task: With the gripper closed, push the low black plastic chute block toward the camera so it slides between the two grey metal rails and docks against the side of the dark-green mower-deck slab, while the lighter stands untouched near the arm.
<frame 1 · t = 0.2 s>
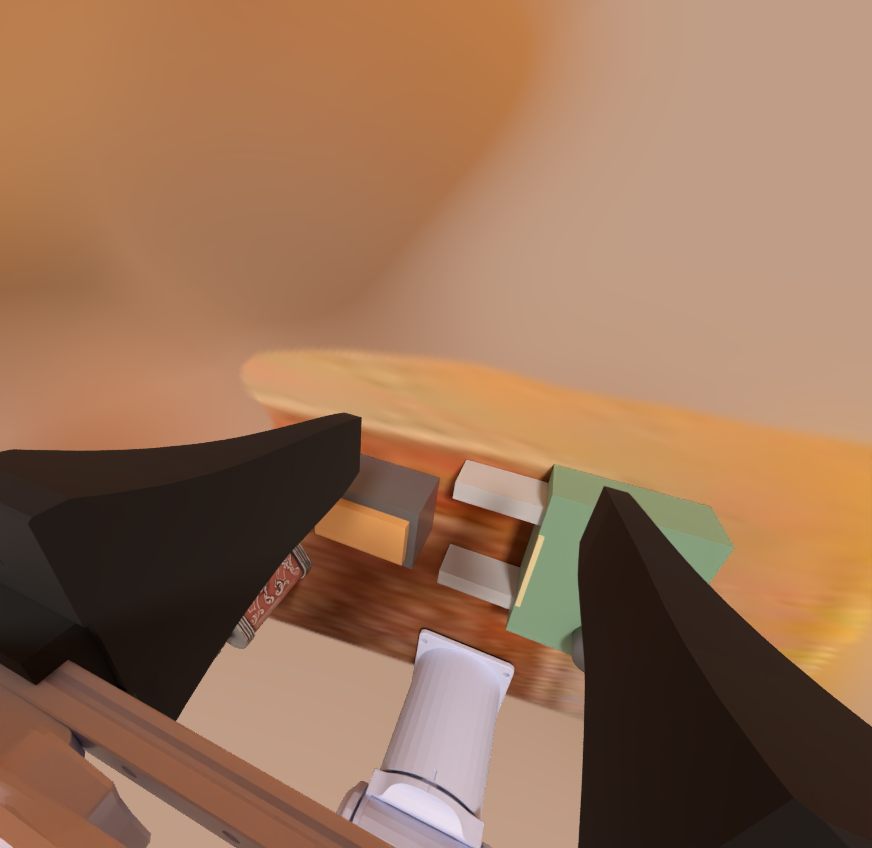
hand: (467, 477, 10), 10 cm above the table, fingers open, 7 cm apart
chute: (390, 488, 25), on the table
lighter: (281, 535, 32), on the table
deck: (595, 556, 22), on the table
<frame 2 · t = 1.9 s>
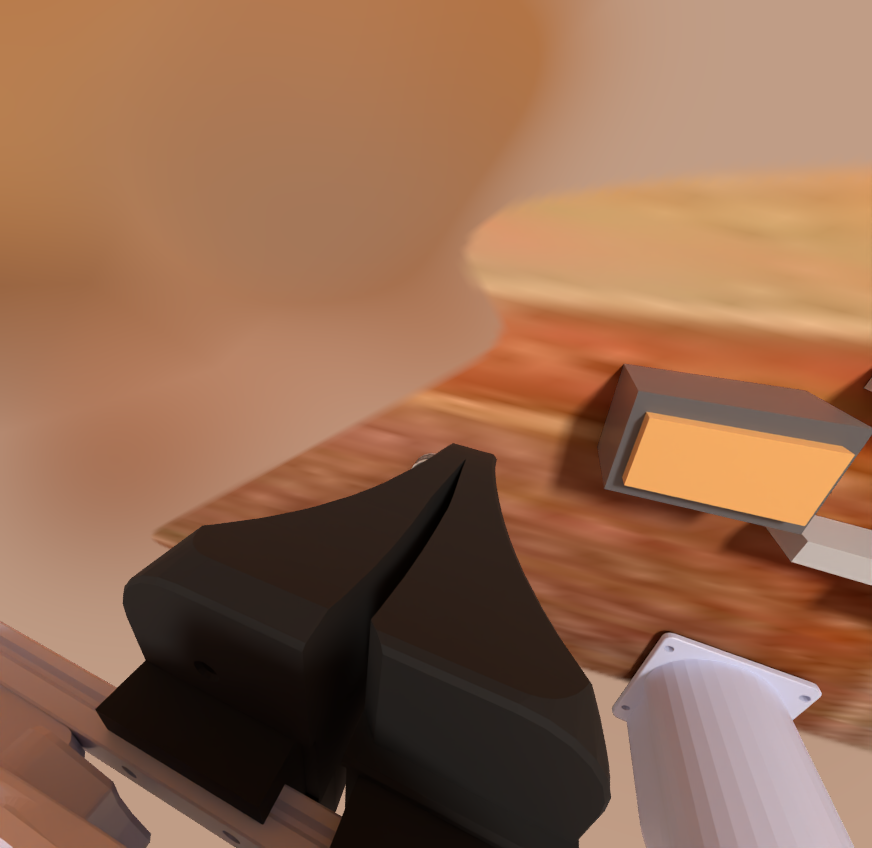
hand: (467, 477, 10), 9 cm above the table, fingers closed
chute: (688, 420, 17), on the table
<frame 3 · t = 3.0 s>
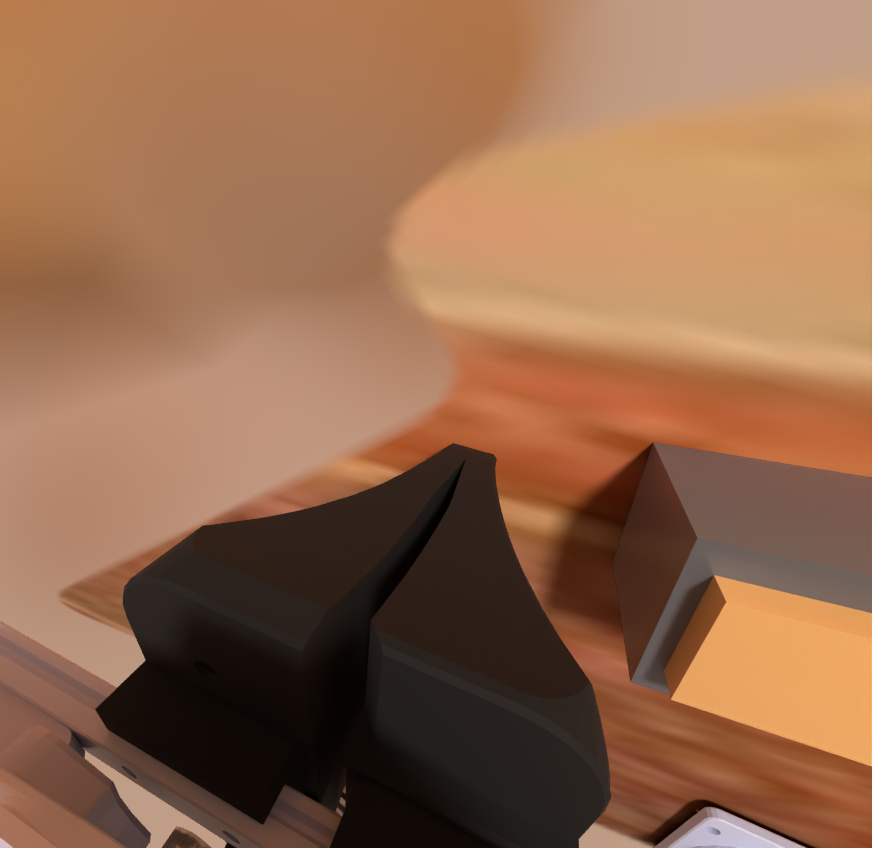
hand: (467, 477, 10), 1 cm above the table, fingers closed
chute: (767, 533, 10), on the table
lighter: (408, 606, 16), on the table
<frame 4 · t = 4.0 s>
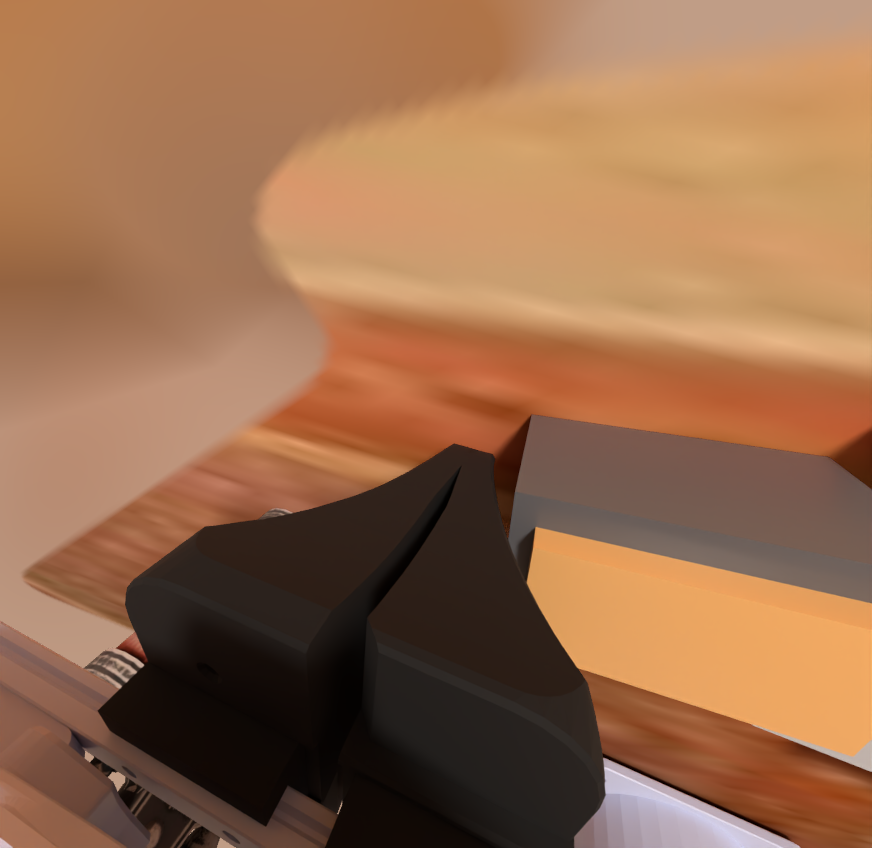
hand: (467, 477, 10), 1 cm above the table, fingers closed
chute: (642, 501, 10), on the table, touching gripper
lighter: (323, 571, 17), on the table
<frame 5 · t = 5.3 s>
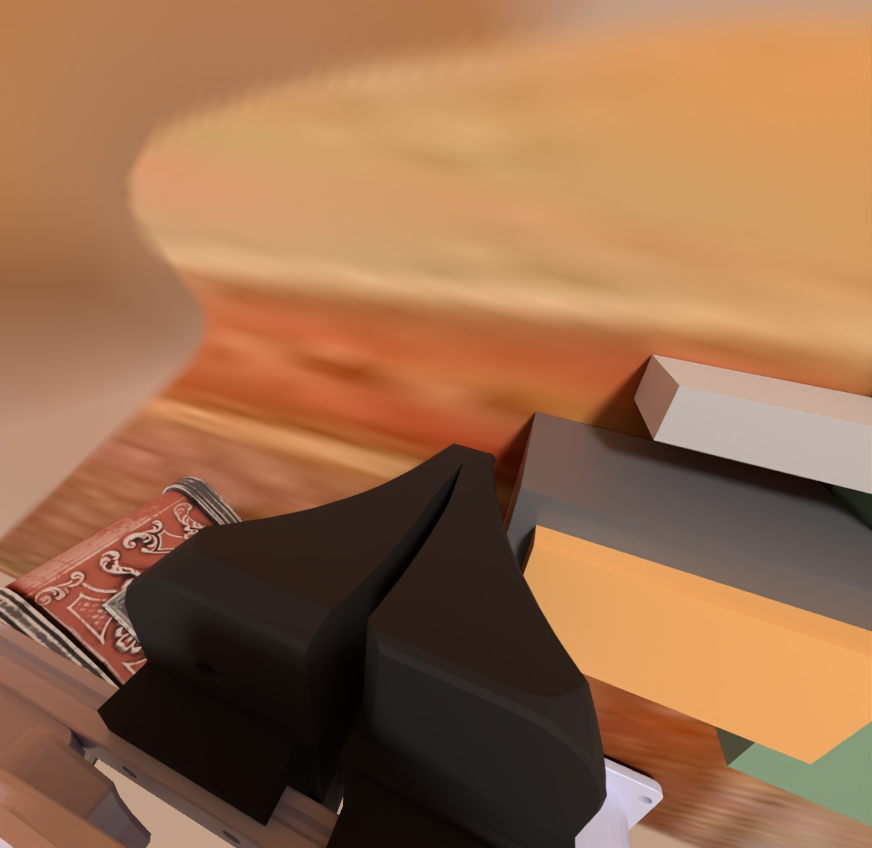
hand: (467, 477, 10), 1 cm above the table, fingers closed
chute: (633, 507, 11), on the table, touching gripper
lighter: (237, 537, 19), on the table
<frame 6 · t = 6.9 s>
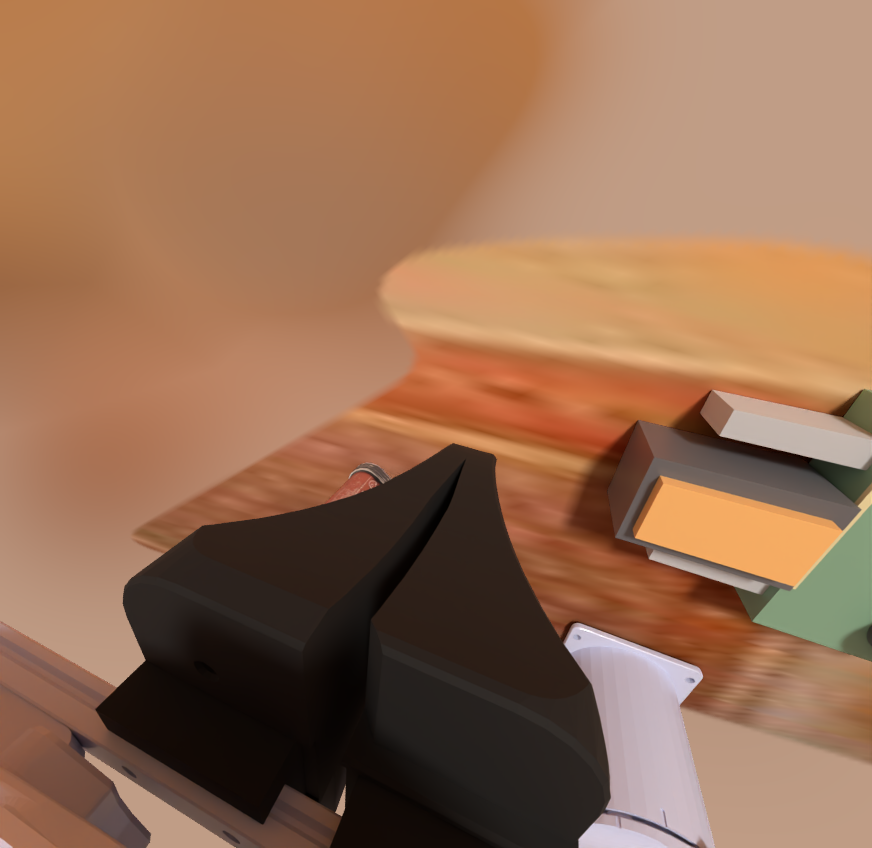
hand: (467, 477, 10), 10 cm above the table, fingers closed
chute: (693, 474, 18), on the table
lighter: (393, 507, 26), on the table
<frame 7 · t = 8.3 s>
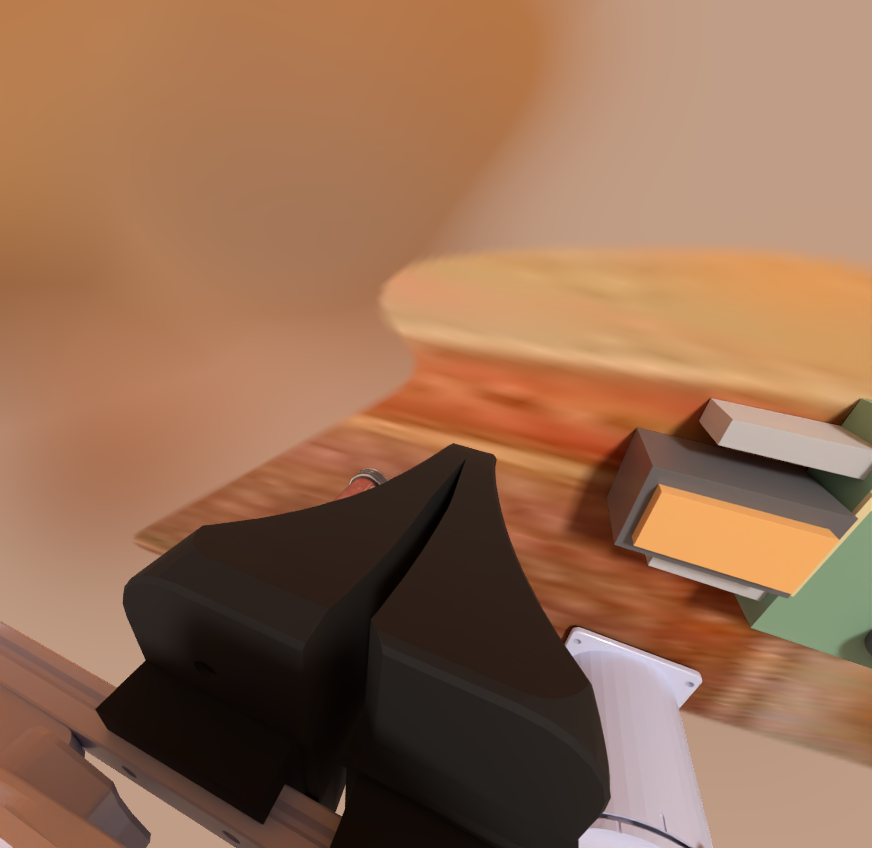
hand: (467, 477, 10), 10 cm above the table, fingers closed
chute: (692, 481, 18), on the table
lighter: (394, 512, 26), on the table
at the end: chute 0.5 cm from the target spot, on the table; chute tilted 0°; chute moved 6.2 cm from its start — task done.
